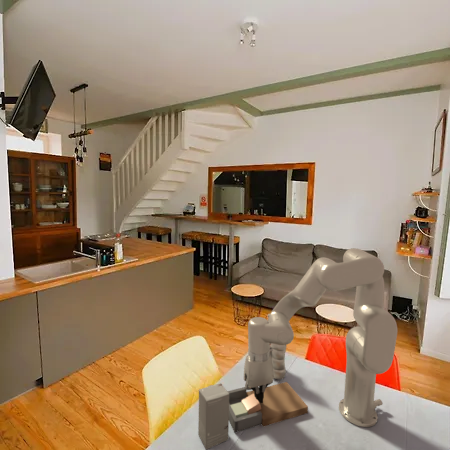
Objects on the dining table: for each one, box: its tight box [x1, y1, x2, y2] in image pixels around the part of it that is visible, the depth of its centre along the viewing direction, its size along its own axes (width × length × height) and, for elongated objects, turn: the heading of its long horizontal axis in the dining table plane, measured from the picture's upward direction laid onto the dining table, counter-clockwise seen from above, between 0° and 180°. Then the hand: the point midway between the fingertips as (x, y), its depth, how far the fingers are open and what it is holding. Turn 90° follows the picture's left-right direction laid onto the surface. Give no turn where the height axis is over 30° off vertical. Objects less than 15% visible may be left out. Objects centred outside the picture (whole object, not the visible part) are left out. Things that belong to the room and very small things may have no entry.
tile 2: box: [241, 394, 261, 415], centre depth 100 cm, size 5×5×2 cm
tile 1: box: [230, 402, 248, 418], centre depth 99 cm, size 5×5×2 cm
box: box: [227, 386, 262, 433], centre depth 101 cm, size 10×14×4 cm
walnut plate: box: [246, 381, 309, 427], centre depth 105 cm, size 18×14×2 cm
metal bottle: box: [271, 343, 287, 381], centre depth 120 cm, size 6×7×20 cm
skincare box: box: [197, 382, 230, 450], centre depth 90 cm, size 8×7×16 cm
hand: (259, 400), depth 102 cm, fingers closed
